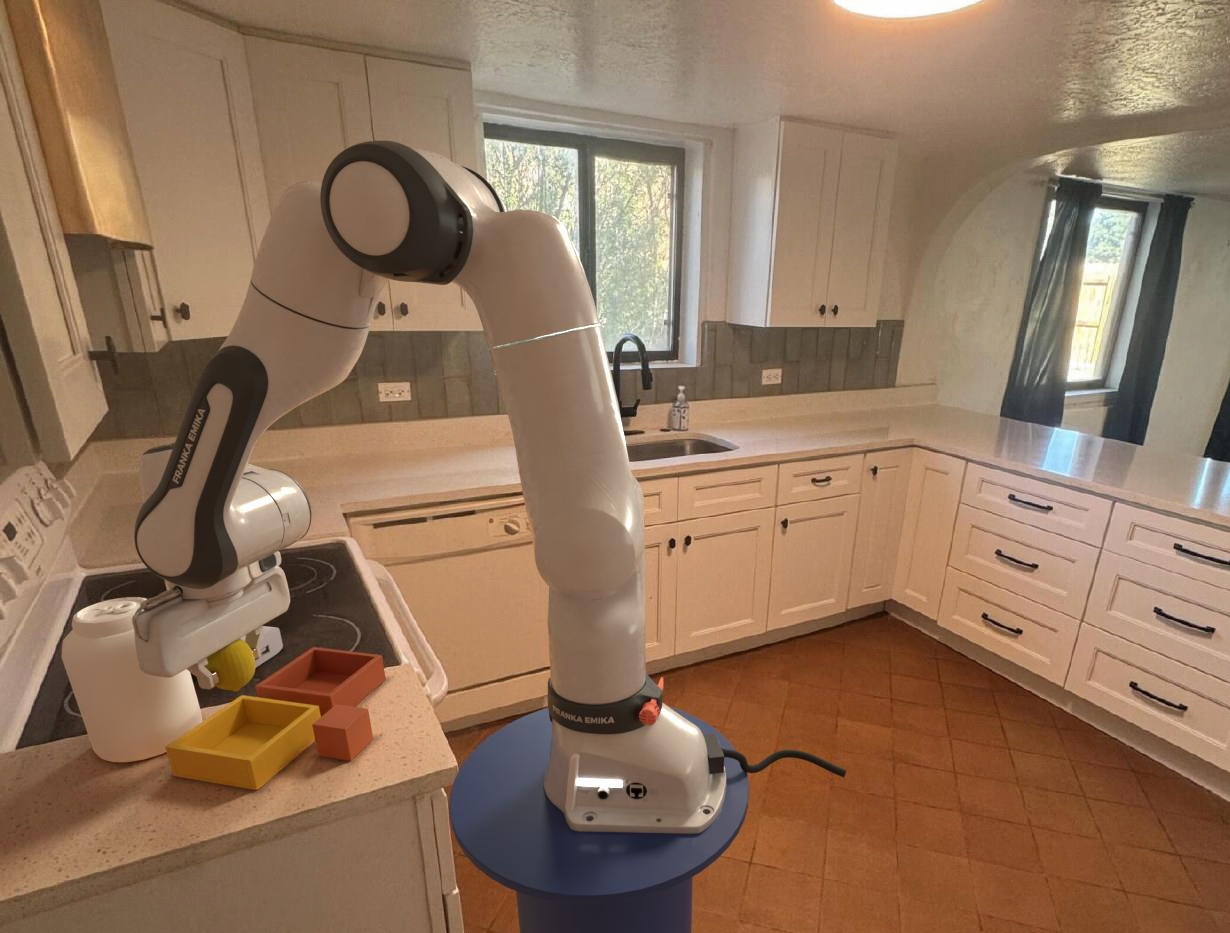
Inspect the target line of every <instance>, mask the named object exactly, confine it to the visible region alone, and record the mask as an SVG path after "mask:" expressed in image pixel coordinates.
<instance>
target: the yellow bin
mask: <svg viewBox="0 0 1230 933" xmlns="http://www.w3.org/2000/svg"><path fill="white" fill-rule="evenodd" d="M320 717H321V715H320V710H319V706H316V705H309V704H302V703H295V702H287V701H280V700H273V699H266V698H259V697H257V696H250V695H244V694H241V695H240V696H238V697H236V698H235V699H234V700H232V701H231V702H229V703H228V704H226V705H225V706H223V707H222V708H221V709H219V710H218V711H216V712H214V713H213V714H212V715H210V716H208V717H207V718H206V719H204V720H203V721H202V722H201V723H200V724H198V725H197V726H195V727H194V728H192V729H191V730H189V731H188V732H186V733H185V734H184V735H182V736H181V737H179V738H178V739H176V740H175V741H173V742H172V743H170V744H169V745H167V746H166V747H165V748H166V752H165V753H166V755H167V758H168V762H169V764H170V768H171V772H172V775H173V776H174V777H177V778H184V779H190V780H195V781H202V782H207V783H212V784H217V785H224V786H230V787H235V788H242V789H247V790H253V791H258V790H260V789H261V788H262V787H263V786H264V785H266V784H267V783H268V782H269V781H270V780H271V779H272V778H274V777H275V776H276V775H278V773H280V772H281V771H282V770H283V769H284V768H285V767H286V766H288V765H289V764H290V763H291V762H292V761H293V760H294V759H295V758H297V757H298V756H300V754H301V753H302V752H304V751H305V750H306V749H307V748H309V747H310V746H311V745H312V744H313V743H315V742H316V741H315V736H314V732H313V727H312V724H313V723H314V722H316V721H317V720H318V719H319V718H320Z"/></svg>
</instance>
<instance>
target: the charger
mask: <svg viewBox="0 0 1230 933" xmlns="http://www.w3.org/2000/svg"><path fill="white" fill-rule="evenodd" d="M263 629H264V633H263V637H262V641H261V644H260V646H259V647H260V651H261V657H260V658H259V659H257V660H256V661H255V664H256V667H255V669H256V668H258V667H259V666H261V665H262V664H263V663H266V661H269V660H270V659H272V658H273V657H275V656H276V655H278V653H280V651H281V650H282V649H283V647H284V644H283V639H282V635H281V630H280V628H279V627H274V626H267V625H266V626H265V625H263ZM245 638H246V635H245V636H243V637H241V638H239V639H242V640H243V641H244V642H245Z"/></svg>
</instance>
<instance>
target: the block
mask: <svg viewBox="0 0 1230 933" xmlns="http://www.w3.org/2000/svg"><path fill="white" fill-rule="evenodd" d="M312 727H313V732H314V736H315V741H314V742H315V746H316V750H317V755H318V757H325V758H329V759H337V760H344V761H351V762H352V761H353V760H354V759H355V758H356V757H357V756H358V755H359V754H360V753H361V752H362V751H363V750H364V749H365V748H366V747H367V746H368V745H369V744H370V743H371V742H373V740H374V734H373V729H372V723H371V717H370V711H369V708H366V707H358V706H355V707H351V706H344V705H335V706H334V707H333V708H331V709H330V710H329V711H328V712H327V713H325V714H324V715H323V716H322V717H320V718H319V719H318V720H317V721H316V722H314V723H313V724H312Z"/></svg>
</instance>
